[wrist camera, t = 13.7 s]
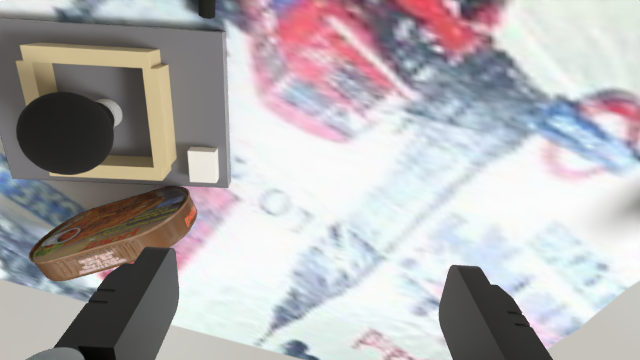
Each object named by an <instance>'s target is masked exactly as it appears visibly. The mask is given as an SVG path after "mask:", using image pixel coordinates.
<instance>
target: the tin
mask: <svg viewBox="0 0 640 360" xmlns="http://www.w3.org/2000/svg"><path fill="white" fill-rule="evenodd" d="M196 217H197V210H196V207H195V205H194V203H193V201H192V199H191V197H190V194H189V191H188V190H187V189H186V188H184V187H180V186H172V187H166V188H162V189H158V190H154V191H151V192H148V193H144V194H141V195H138V196H134V197H131V198H128V199H124V200H121V201H117V202H114V203H110V204H107V205H104V206H100V207H97V208H94V209H91V210H88V211H86V212H83V213H81V214H79V215H77V216H75V217H73V218H71V219H69V220H67V221H66V222H64V223H62V224H61V225H59V226H58V227H56V228H55V229H53V230H52V231H50V232H49V233H48V234H47V235H45V236H44V237H43V238H42V239H40V240H39V241H38V243H36V244H35V246H34V247H33V248H32V250H31V252H30V253H29V259H30V260H31V261H32V262H34V263H35V264H36V266H37V267H38V268H39V269H40V271H41V272H42V273H43V274H44V275H45V276H46V277H47V278H48V279H50V280H53V281H66V280H70V279H74V278H78V277H82V276H85V275H89V274H93V273H96V272H100V271H103V270H107V269H110V268H114V267H117V266H121V265H122V264H124V263H131V262H135V261H136V259H137V258H138V256H139V255H140V253H141V252H142V250H143V249H144V248H145V247H164V248H169V247H171V246H172V245H174V244H175V243H177V242H178V241H179V240H181V239H182V238H183V237H184V236H185V235H186V234H187V233H188V232H189V230H190V229H191V227H192V225H193V223H194V222H195V220H196Z"/></svg>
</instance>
